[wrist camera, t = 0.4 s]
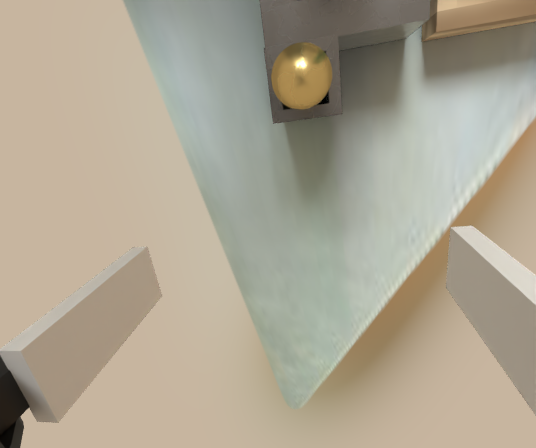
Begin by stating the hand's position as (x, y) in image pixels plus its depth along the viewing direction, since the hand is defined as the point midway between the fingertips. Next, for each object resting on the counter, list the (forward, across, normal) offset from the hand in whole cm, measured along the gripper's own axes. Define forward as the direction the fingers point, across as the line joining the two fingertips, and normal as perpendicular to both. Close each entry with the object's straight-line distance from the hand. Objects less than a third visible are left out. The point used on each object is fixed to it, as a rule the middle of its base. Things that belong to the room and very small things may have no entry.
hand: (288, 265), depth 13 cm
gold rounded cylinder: (+20, +1, +8) cm, 21 cm away
